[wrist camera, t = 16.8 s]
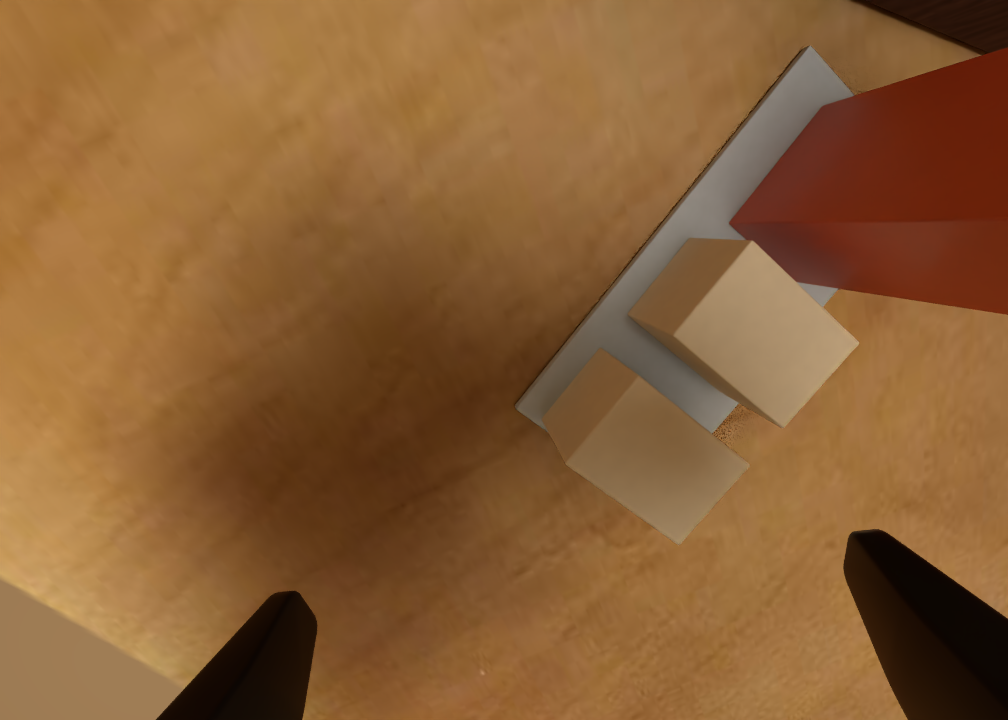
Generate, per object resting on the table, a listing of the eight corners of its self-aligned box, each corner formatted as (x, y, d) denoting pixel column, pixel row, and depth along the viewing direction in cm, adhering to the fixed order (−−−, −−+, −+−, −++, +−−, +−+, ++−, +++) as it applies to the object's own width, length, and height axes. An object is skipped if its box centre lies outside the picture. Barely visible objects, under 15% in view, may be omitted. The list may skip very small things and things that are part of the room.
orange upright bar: (792, 282, 20) (1282, 358, 8) (727, 223, 19) (1173, 217, 8) (884, 170, 19) (1552, 86, 8) (821, 104, 18) (1465, -100, 7)
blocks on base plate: (645, 501, 22) (695, 567, 18) (514, 405, 20) (534, 453, 16) (923, 182, 20) (1052, 171, 16) (802, 48, 18) (912, -6, 14)
